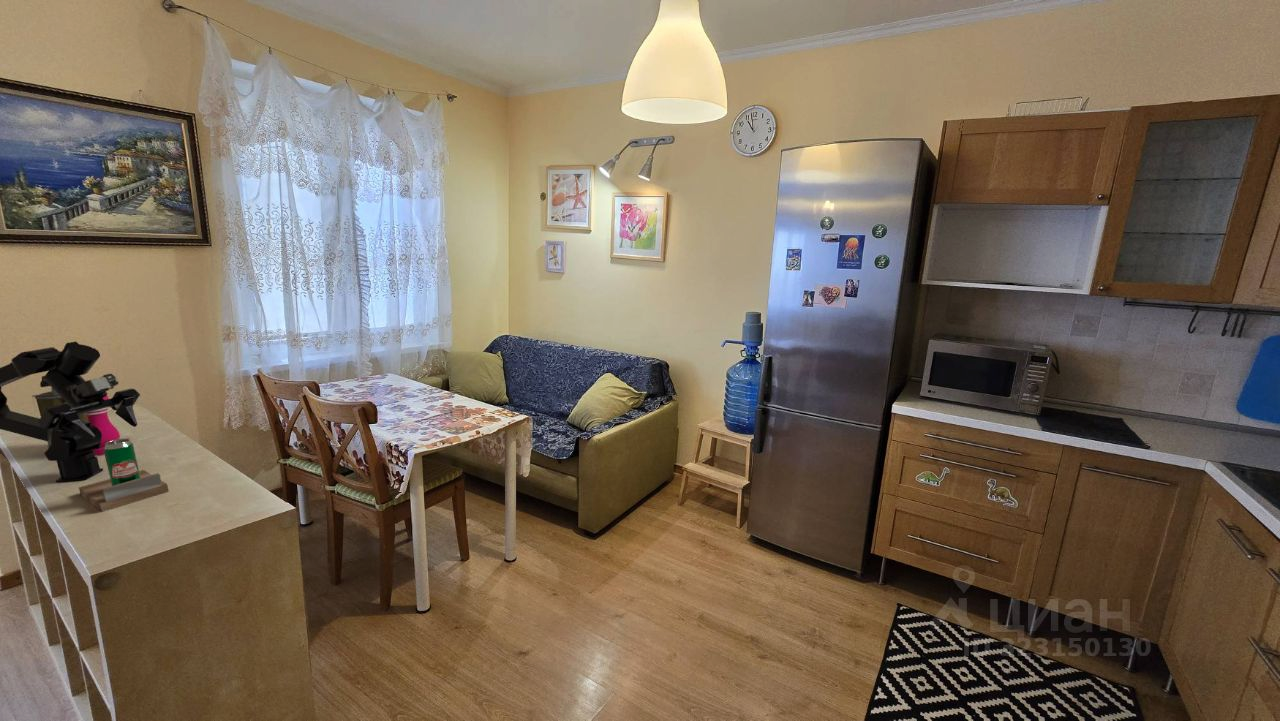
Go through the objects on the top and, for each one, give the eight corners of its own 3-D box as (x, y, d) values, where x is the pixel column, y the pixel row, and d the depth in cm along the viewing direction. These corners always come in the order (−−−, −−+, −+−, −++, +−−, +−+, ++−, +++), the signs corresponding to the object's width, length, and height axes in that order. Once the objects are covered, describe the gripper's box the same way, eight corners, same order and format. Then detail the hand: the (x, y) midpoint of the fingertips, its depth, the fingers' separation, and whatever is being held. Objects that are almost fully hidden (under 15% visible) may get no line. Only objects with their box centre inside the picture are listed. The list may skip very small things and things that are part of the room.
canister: (97, 439, 164) (82, 378, 160) (101, 447, 158) (86, 383, 153) (45, 449, 156) (29, 385, 151) (48, 458, 149) (30, 391, 145)
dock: (80, 494, 128) (76, 475, 127) (144, 476, 138) (140, 459, 137) (102, 511, 120) (97, 491, 119) (168, 491, 130) (164, 472, 129)
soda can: (115, 494, 123) (104, 447, 121) (111, 488, 126) (100, 442, 124) (144, 487, 127) (134, 441, 124) (139, 481, 130) (129, 436, 127)
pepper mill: (83, 454, 153) (67, 388, 148) (114, 445, 159) (100, 382, 155) (96, 457, 150) (80, 391, 146) (128, 449, 156) (113, 384, 152)
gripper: (35, 375, 121) (83, 424, 121) (127, 358, 139) (168, 401, 139) (18, 406, 124) (65, 453, 124) (110, 385, 142) (150, 426, 142)
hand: (115, 431), depth 132 cm, fingers open, 9 cm apart
